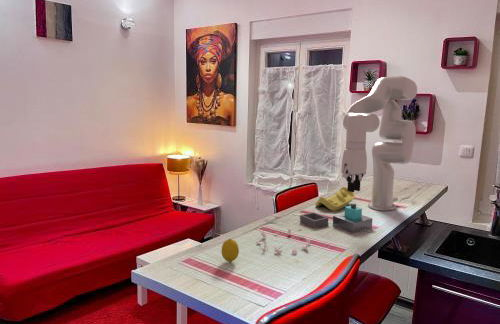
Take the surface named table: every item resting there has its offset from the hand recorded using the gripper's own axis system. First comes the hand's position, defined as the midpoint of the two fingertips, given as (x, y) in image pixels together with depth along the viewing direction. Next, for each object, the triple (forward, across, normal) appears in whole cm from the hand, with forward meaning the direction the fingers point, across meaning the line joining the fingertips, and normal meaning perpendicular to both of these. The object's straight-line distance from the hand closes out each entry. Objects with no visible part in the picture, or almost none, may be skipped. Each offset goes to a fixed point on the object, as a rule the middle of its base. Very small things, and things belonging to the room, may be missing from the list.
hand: (353, 190), depth 149 cm
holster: (+15, +10, -12) cm, 22 cm away
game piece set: (+16, +34, 0) cm, 38 cm away
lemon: (+15, +58, +2) cm, 61 cm away
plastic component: (+16, -16, -25) cm, 34 cm away
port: (+15, 0, 0) cm, 15 cm away
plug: (+15, 0, 0) cm, 15 cm away
